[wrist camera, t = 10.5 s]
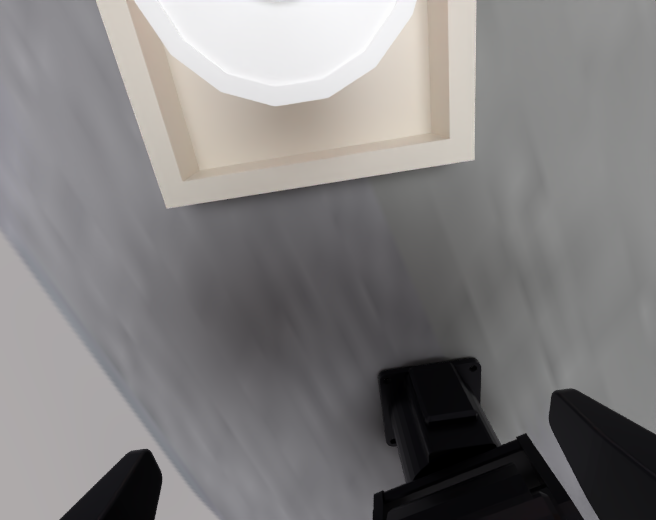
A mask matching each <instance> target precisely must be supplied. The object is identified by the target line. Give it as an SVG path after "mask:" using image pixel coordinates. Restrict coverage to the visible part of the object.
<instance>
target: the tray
mask: <svg viewBox="0 0 656 520" xmlns="http://www.w3.org/2000/svg"><path fill="white" fill-rule="evenodd" d="M96 2H97V5H98V8H99V11H100V14H101V17H102V20H103V23H104V26H105V29H106V32H107V35H108V38H109V41H110V43H111V46H112V49H113V52H114V55H115V58H116V61H117V64H118V67H119V70H120V73H121V76H122V79H123V82H124V85H125V88H126V91H127V93H128V96H129V99H130V102H131V105H132V108H133V111H134V114H135V117H136V120H137V123H138V126H139V129H140V132H141V135H142V138H143V140H144V143H145V146H146V149H147V152H148V155H149V158H150V161H151V164H152V167H153V170H154V173H155V176H156V179H157V182H158V185H159V187H160V190H161V193H162V196H163V199H164V202H165V205H166V208H167V209H168V208H174V207H180V206H187V205H193V204H199V203H206V202H212V201H218V200H225V199H231V198H237V197H244V196H250V195H256V194H262V193H269V192H275V191H281V190H288V189H294V188H300V187H307V186H313V185H319V184H326V183H332V182H338V181H345V180H351V179H357V178H363V177H370V176H376V175H382V174H389V173H395V172H401V171H408V170H414V169H420V168H427V167H433V166H439V165H446V164H452V163H458V162H464V161H471V160H474V147H475V64H476V0H417V1H416V4H415V8H414V11H413V15H412V16H411V18H410V19H409V21H408V22H407V23H406V25H405V26H404V28H403V29H402V30H401V32H400V33H399V35H398V36H397V38H396V39H395V40H394V42H393V43H392V45H391V46H390V47H389V49H388V50H387V52H386V53H385V55H384V56H383V57H382V59H381V60H380V62H379V63H378V64H377V66H376V67H375V68H373V69H372V70H370V71H369V72H367V73H366V74H364V75H363V76H361V77H360V78H358V79H357V80H355V81H353V82H352V83H350V84H349V85H347V86H346V87H344V88H343V89H341V90H340V91H338V92H337V93H335V94H334V95H332V96H330V97H329V98H325V99H319V100H313V101H306V102H300V103H294V104H288V105H281V106H271V105H268V104H264V103H260V102H256V101H253V100H249V99H245V98H241V97H238V96H234V95H230V94H226V93H223V92H220V91H219V90H218V89H216V88H215V87H214V86H212V85H211V84H209V83H208V82H207V81H205V80H204V79H203V78H201V77H200V76H199V75H197V74H196V73H195V72H193V71H192V70H191V69H189V68H188V67H187V66H185V65H184V64H183V63H181V62H180V61H179V60H177V59H176V58H175V57H173V56H172V55H171V54H170V53H169V51H168V50H167V48H166V47H165V45H164V44H163V42H162V41H161V40H160V38H159V37H158V35H157V34H156V32H155V31H154V29H153V28H152V26H151V25H150V23H149V22H148V20H147V19H146V17H145V16H144V15H143V13H142V12H141V10H140V9H139V7H138V6H137V4H136V3H135V1H134V0H96Z"/></svg>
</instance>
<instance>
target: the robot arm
mask: <svg viewBox="0 0 656 520" xmlns="http://www.w3.org/2000/svg"><path fill="white" fill-rule="evenodd" d="M473 365H474V366H473ZM471 366H473V367H471ZM385 378H389V379H387V380H384V379H385ZM378 379H379V387H380V395H381V404H382V412H383V420H384V429H385V437H386V442H387V444H388V445H389V446H397V448H398V452H399V456H400V460H401V464H402V469H403V473H404V477H405V481H406V484H403V485H401V486H398V487H396V488H393V489H391V490H388V491H386V492H384V491H381V492H378V493H376V494H374V510H373V520H584V519H583V517H582V516H581V514H580V513H579V511H578V509H577V508H576V506H575V505H574V503H573V502H572V500H571V499H570V497H569V496H568V494H567V492H566V491H565V490H564V488H563V487H562V485H561V484H560V482H559V481H558V479H557V478H556V476H555V475H554V473H553V472H552V471H551V469H550V468H549V466H548V465H547V463H546V462H545V460H544V459H543V457H542V456H541V454H540V453H539V452H538V450H537V449H536V447H535V446H534V444H533V443H532V441H531V440H530V438H529V437H528V435H527V434H526V433H525V434H523V435H520V436H518V437H516V438H517V439H516V440H513V441H511V442H508V443H506V444H503V445H501V443H500V441H499V439H498V438H497V436H496V434H495V432H494V430H493V428H492V426H491V425H490V423H489V421H488V419H487V417H486V415H485V413H484V412H483V410H482V408H481V406H480V391H481V365H480V363H479V362H478V360H477V359H475V358H469V359H462V360H455V361H448V362H441V363H434V364H427V365H420V366H413V367H406V368H399V369H393V370H386V371H382V372H381V373H380V374H379V376H378ZM549 423H550V426H551V429H552V431H553V433H554V435H555V437H556V439H557V441H558V443H559V445H560V447H561V449H562V451H563V453H564V455H565V457H566V459H567V461H568V463H569V464H570V466H571V468H572V470H573V472H574V474H575V476H576V478H577V480H578V482H579V484H580V486H581V488H582V490H583V492H584V494H585V495H586V497H587V499H588V501H589V503H590V504H591V506H592V508H593V509H594V511H595V513H596V514H597V516H598V518H599V519H600V520H656V434H654V433H652V432H651V431H649V430H647V429H645V428H643V427H642V426H640V425H638V424H636V423H634V422H633V421H631V420H629V419H627V418H626V417H624V416H622V415H620V414H618V413H617V412H615V411H613V410H611V409H610V408H608V407H606V406H604V405H602V404H601V403H599V402H597V401H595V400H594V399H592V398H590V397H588V396H586V395H585V394H583V393H581V392H579V391H577V390H575V389H563V390H556V391H554V392H553V393H552V396H551V403H550V411H549ZM161 485H162V473H161V471H160V468H159V466H158V464H157V462H156V460H155V458H154V456H153V454H152V452H151V451H150V450H148V449H141V450H134V451H130V452H129V453H127V454H126V455H125V456H124V457H123V458H122V459H121V460H120V461H119V462H118V463H117V464H116V465H115V466H114V467H113V468H112V469H111V470H110V471H109V472H108V473H107V474H106V475H104V477H102V479H100V480H99V481H98V482H97V483H96V484H95V485H94V486H93V487H92V488H91V489H90V490H89V491H88V492H87V493H86V494H85V495H84V496H83V497H82V498H81V499H80V500H79V501H78V502H77V503H76V504H75V505H74V506H73V507H72V508H71V509H70V510H69V511H68V512H67V513H66V514H65V515H64V516H63V517H62V518H61V519H60V520H154V519H155V515H156V510H157V505H158V500H159V495H160V490H161Z"/></svg>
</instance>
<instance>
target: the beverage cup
mask: <svg viewBox="0 0 656 520" xmlns="http://www.w3.org/2000/svg"><path fill="white" fill-rule="evenodd" d="M134 1H135V3H136V4H137V6H138V7H139V9H140V10H141V12H142V13H143V15H144V16H145V17H146V19H147V20H148V22H149V23H150V25H151V26H152V28H153V29H154V31H155V32H156V34H157V35H158V37H159V38H160V40H161V41H162V42H163V44H164V45H165V47H166V48H167V50H168V51H169V53H170V54H171V55H172V56H173V57H175V58H176V59H177V60H179V61H180V62H181V63H183V64H184V65H185V66H187V67H188V68H189V69H191V70H192V71H193V72H195V73H196V74H197V75H199V76H200V77H201V78H203V79H204V80H205V81H207V82H208V83H209V84H211V85H212V86H214V87H215V88H216V89H218V90H219V91H220V92H223V93H226V94H230V95H234V96H238V97H241V98H245V99H249V100H253V101H256V102H260V103H264V104H268V105H271V106H281V105H288V104H294V103H300V102H306V101H313V100H319V99H325V98H329V97H330V96H332V95H334V94H335V93H337V92H338V91H340V90H341V89H343V88H344V87H346V86H347V85H349V84H350V83H352V82H353V81H355V80H357V79H358V78H360V77H361V76H363V75H364V74H366V73H367V72H369V71H370V70H372V69H373V68H375V67H376V66H377V64H378V63H379V62H380V60H381V59H382V57H383V56H384V55H385V53H386V52H387V50H388V49H389V47H390V46H391V45H392V43H393V42H394V40H395V39H396V38H397V36H398V35H399V33H400V32H401V30H402V29H403V28H404V26H405V25H406V23H407V22H408V21H409V19H410V18H411V16H412V15H413V11H414V8H415V4H416V1H417V0H134Z"/></svg>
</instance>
